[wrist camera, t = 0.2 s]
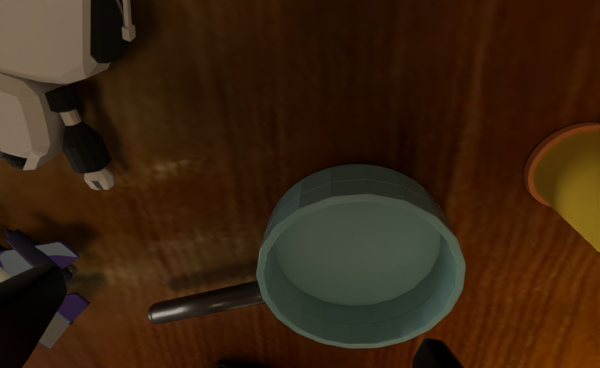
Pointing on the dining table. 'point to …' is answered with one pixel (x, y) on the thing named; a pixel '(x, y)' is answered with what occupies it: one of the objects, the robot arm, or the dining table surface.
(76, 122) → the robot toy
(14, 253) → the toy airplane
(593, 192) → the duck toy
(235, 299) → the pan handle
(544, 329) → the dining table surface
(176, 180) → the dining table surface
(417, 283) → the pan
